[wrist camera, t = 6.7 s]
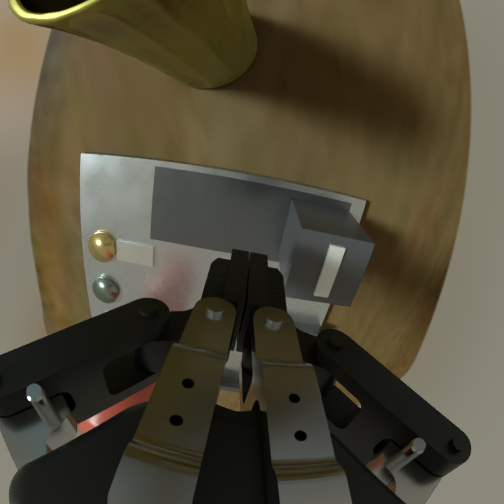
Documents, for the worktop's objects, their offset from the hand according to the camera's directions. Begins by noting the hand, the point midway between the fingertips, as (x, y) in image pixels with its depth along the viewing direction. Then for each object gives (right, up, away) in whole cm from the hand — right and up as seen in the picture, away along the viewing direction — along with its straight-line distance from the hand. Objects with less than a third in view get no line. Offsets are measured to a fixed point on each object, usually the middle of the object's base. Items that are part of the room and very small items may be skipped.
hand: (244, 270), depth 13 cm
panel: (-4, -3, +10) cm, 11 cm away
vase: (-2, +14, +2) cm, 14 cm away
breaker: (+4, +2, +7) cm, 8 cm away
